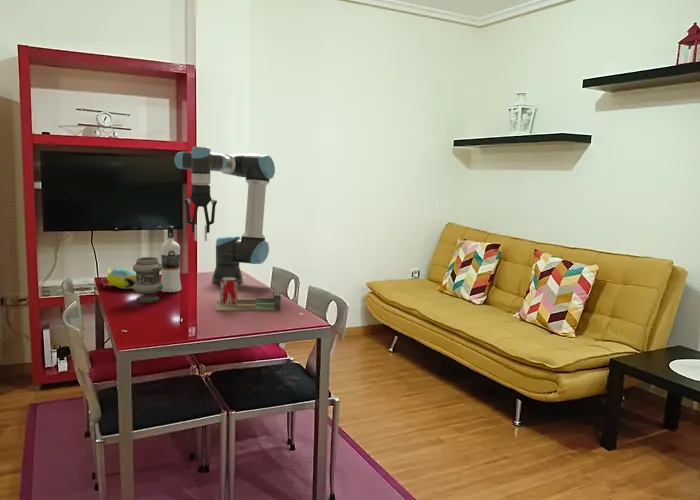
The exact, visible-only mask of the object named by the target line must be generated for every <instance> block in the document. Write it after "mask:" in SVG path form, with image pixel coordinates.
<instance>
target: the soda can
mask: <svg viewBox="0 0 700 500" xmlns="http://www.w3.org/2000/svg"><path fill="white" fill-rule="evenodd" d="M238 286H239V283H238V284H237V281H236V278H234V277H224V278H222V281H221V283H220V284H219V299H220V304H237V299H238V297H239V296H238V290H239V289H238Z"/></svg>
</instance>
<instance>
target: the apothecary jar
mask: <svg viewBox="0 0 700 500" xmlns="http://www.w3.org/2000/svg"><path fill="white" fill-rule="evenodd" d="M132 269H133V272H135V273H136V283H135V284H134V285H133V289H132V290H133V291H134V292H136V293H137V294H141V295H140V296H138V297H136V299H135V300H136V302H139V303H154V301H155V302H159V301H161V297H160V296H157V295H155V294H157V293H159V292H162V291H161V290H162V289H163V284H162V283H161V276H160V272H161V270H162V263H160V261H159V258H158V257H154V256H146V257H145V256H144V257H143V256H141V257H138V258H137V259H136V262H135V263H134V264H133V266H132ZM158 300H159V301H158Z"/></svg>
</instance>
